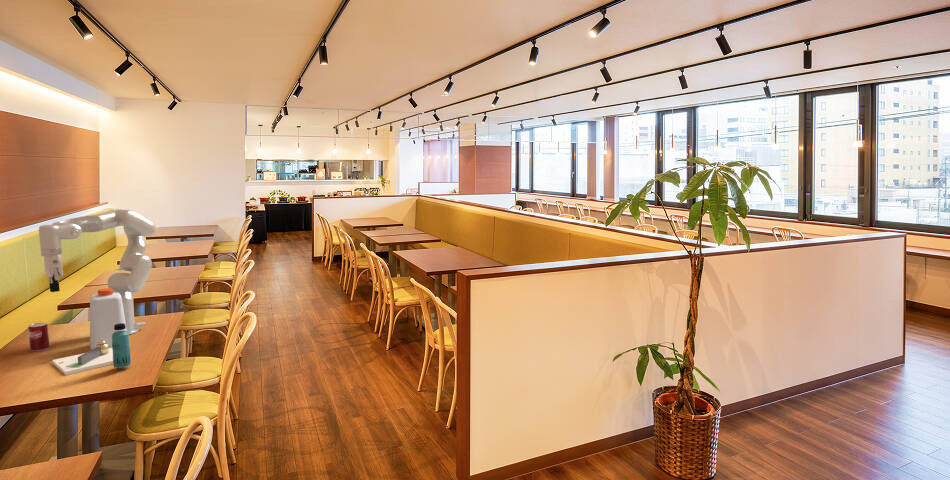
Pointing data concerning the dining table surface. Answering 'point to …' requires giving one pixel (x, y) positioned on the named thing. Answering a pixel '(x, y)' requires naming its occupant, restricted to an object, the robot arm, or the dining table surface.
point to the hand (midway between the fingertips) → (54, 291)
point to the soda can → (38, 336)
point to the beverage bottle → (121, 347)
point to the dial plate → (71, 363)
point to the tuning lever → (94, 352)
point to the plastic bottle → (105, 316)
